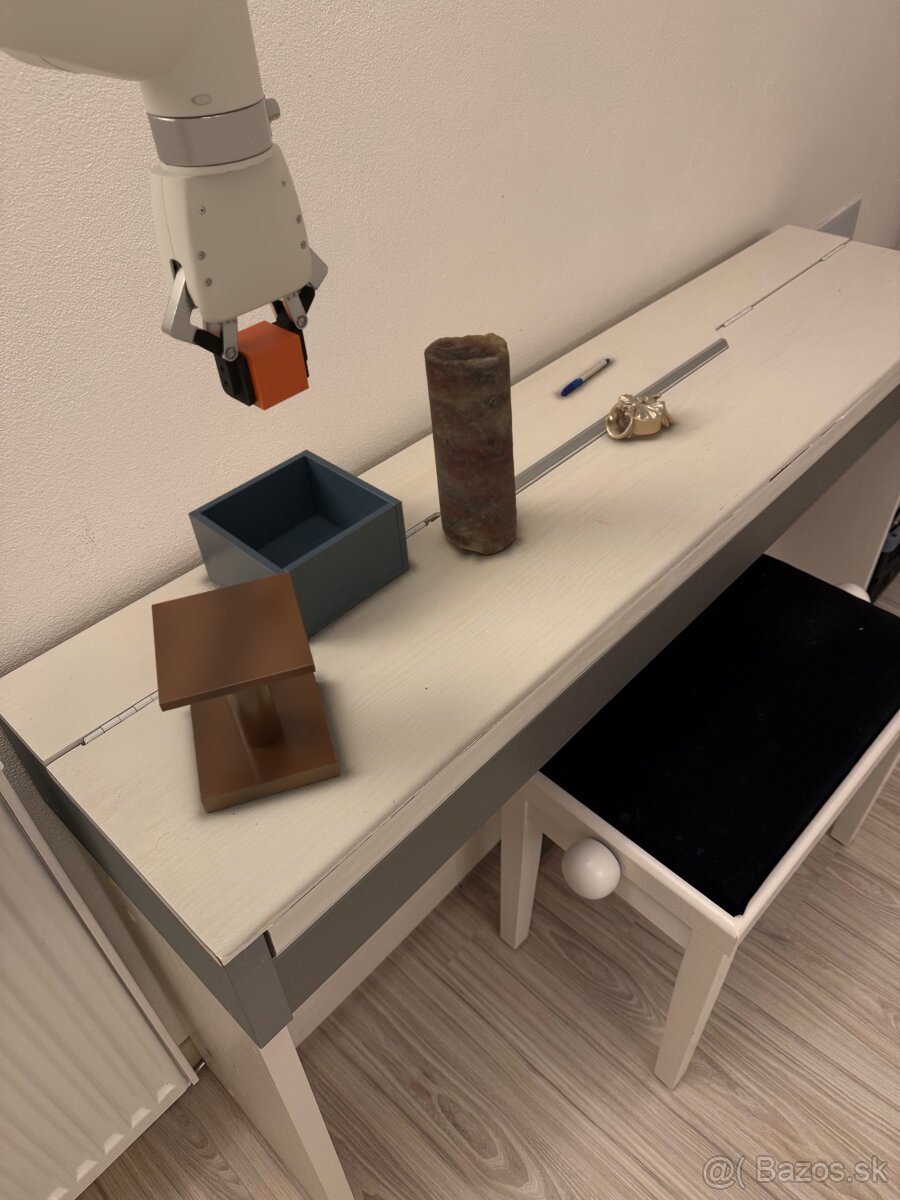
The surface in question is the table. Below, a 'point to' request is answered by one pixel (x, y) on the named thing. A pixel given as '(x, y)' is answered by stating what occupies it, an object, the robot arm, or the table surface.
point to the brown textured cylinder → (473, 439)
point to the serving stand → (244, 689)
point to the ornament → (637, 416)
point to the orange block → (273, 363)
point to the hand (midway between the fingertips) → (268, 384)
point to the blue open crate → (305, 536)
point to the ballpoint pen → (583, 378)
